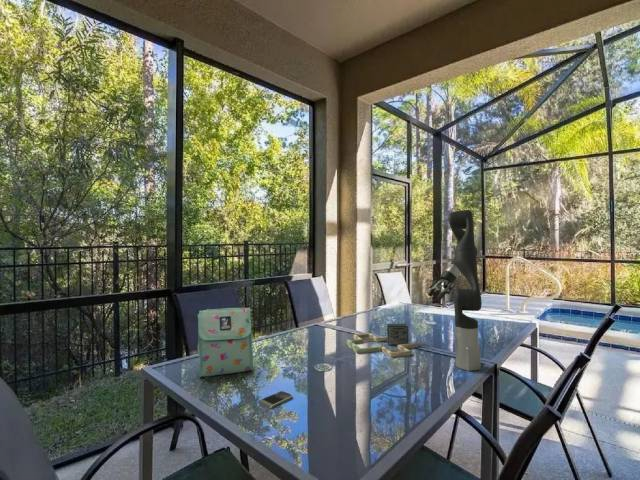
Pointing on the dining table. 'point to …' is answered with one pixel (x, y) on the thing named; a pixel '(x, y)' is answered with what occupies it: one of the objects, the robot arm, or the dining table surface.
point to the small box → (397, 334)
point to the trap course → (369, 337)
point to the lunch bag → (224, 341)
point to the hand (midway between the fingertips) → (434, 297)
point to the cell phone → (275, 399)
